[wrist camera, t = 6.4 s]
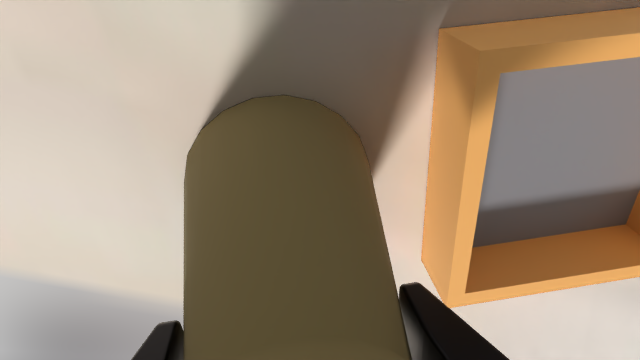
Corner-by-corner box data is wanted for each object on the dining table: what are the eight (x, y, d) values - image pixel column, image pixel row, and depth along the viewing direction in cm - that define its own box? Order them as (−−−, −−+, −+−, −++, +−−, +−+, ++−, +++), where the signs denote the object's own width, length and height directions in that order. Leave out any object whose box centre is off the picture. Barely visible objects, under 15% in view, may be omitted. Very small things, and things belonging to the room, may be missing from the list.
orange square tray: (720, -2, 13) (815, 13, 10) (627, 227, 17) (680, 270, 15) (438, 28, 12) (480, 51, 10) (421, 259, 16) (446, 308, 14)
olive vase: (216, 64, 11) (68, 647, 2) (400, 133, 13) (739, 599, 4) (163, 230, 14) (-7, 822, 5) (324, 268, 16) (426, 741, 7)
